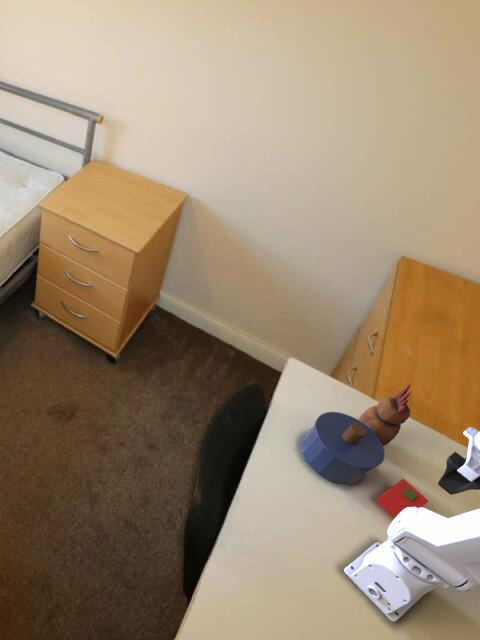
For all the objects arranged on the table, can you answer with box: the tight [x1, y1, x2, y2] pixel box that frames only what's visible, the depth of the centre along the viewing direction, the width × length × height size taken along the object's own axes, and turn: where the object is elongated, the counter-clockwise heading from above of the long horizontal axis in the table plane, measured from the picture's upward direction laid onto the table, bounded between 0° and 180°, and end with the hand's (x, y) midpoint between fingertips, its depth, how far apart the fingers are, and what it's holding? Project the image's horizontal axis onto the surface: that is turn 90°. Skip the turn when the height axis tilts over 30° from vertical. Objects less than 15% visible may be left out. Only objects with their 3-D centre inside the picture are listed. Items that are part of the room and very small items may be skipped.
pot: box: [300, 424, 372, 486], centre depth 95 cm, size 10×10×6 cm
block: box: [375, 478, 430, 519], centre depth 90 cm, size 4×4×5 cm
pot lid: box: [314, 411, 386, 470], centre depth 92 cm, size 11×11×4 cm
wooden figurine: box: [357, 384, 411, 447], centre depth 96 cm, size 7×6×15 cm
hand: (457, 478), depth 85 cm, fingers open, 7 cm apart
